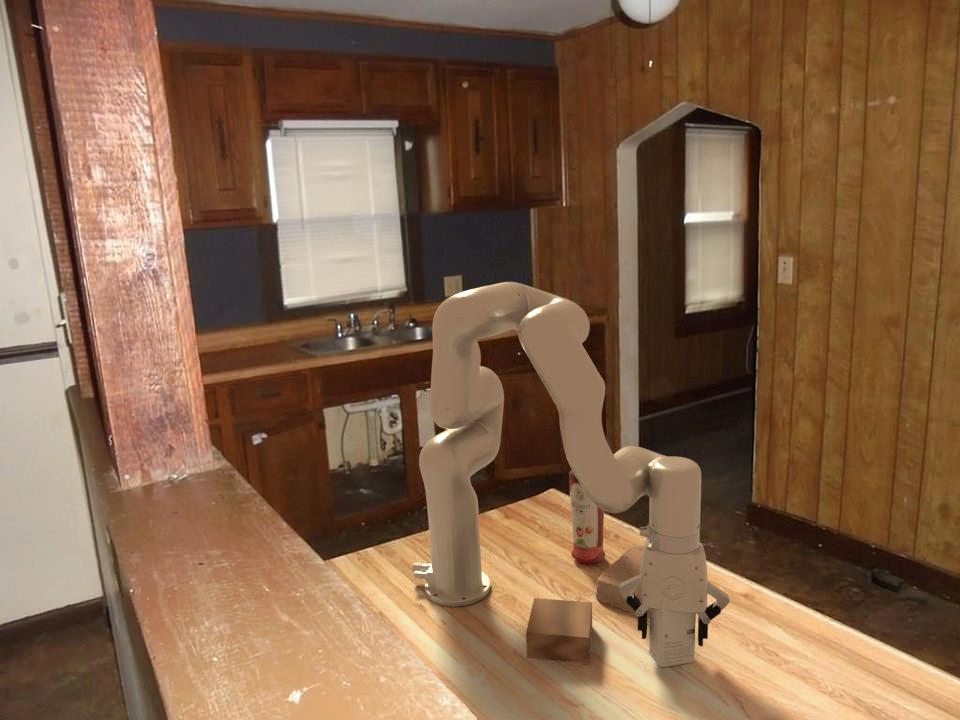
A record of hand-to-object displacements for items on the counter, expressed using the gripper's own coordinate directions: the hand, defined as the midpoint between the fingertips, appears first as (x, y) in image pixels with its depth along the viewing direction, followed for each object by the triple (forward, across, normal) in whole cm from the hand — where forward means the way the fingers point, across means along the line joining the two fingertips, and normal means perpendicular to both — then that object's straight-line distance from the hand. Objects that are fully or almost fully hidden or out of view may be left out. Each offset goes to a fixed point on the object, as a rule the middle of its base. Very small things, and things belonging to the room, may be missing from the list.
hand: (672, 637), depth 111 cm
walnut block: (+4, -18, 0) cm, 18 cm away
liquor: (+4, -17, +28) cm, 33 cm away
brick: (+4, -7, +20) cm, 22 cm away
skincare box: (+4, 0, 0) cm, 4 cm away
